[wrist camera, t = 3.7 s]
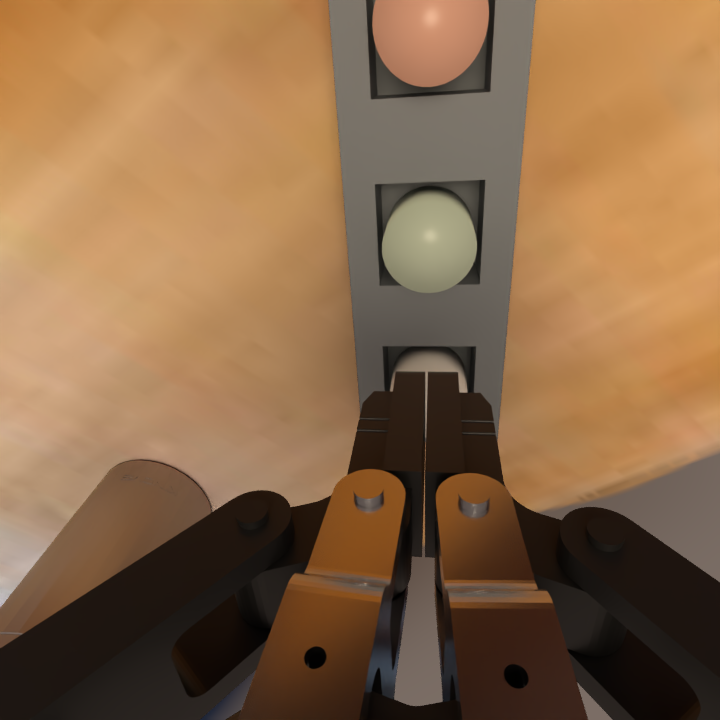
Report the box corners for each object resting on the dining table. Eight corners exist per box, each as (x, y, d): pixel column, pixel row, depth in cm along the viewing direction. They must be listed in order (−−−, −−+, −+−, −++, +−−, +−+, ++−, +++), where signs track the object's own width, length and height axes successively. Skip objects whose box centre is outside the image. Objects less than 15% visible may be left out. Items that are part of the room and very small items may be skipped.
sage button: (470, 268, 26) (474, 292, 24) (388, 270, 27) (383, 293, 24) (474, 183, 24) (479, 199, 22) (385, 187, 25) (379, 203, 22)
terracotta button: (479, 80, 22) (485, 83, 19) (382, 87, 23) (375, 90, 20) (484, -42, 20) (492, -58, 17) (377, -31, 21) (369, -45, 18)
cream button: (464, 404, 31) (467, 438, 28) (393, 403, 31) (389, 436, 28) (466, 342, 29) (470, 372, 26) (391, 342, 29) (387, 371, 26)
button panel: (490, 404, 34) (497, 443, 30) (369, 402, 35) (362, 439, 31) (528, -92, 21) (546, -121, 18) (338, -71, 22) (321, -94, 19)
